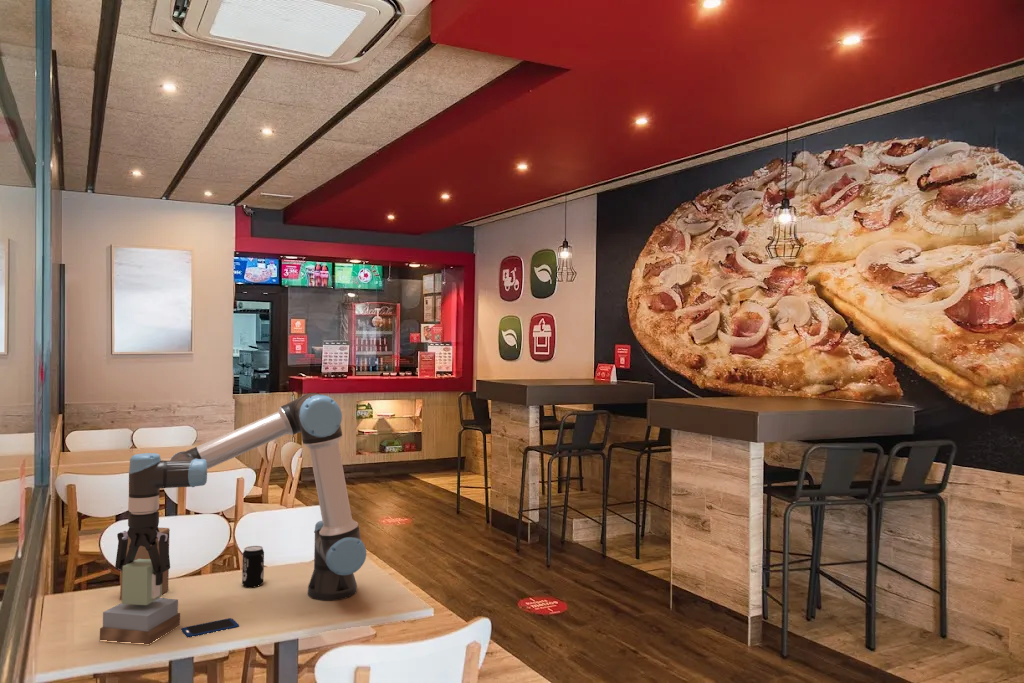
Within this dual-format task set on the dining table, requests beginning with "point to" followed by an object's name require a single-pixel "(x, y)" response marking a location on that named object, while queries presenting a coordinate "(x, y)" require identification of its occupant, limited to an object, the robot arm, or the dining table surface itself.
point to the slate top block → (140, 615)
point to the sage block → (138, 582)
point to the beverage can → (253, 566)
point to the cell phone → (209, 627)
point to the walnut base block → (140, 632)
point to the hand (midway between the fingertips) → (142, 595)
